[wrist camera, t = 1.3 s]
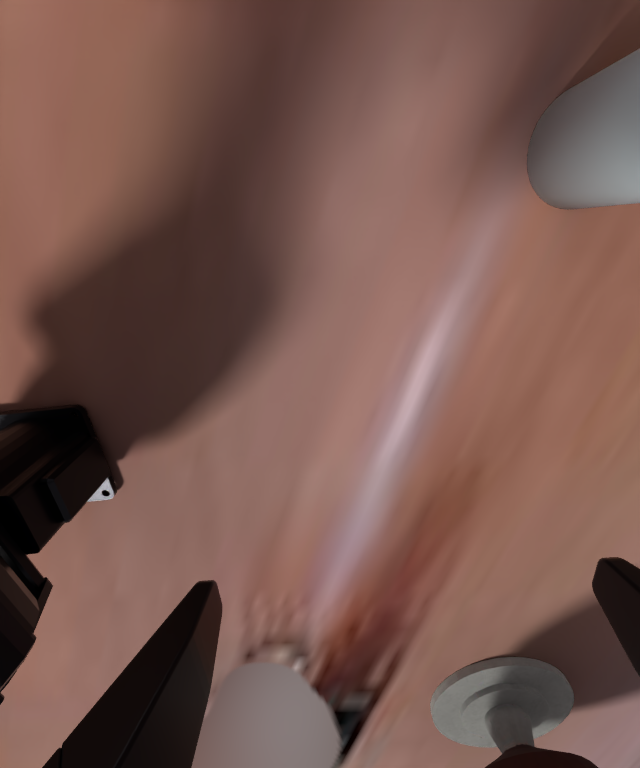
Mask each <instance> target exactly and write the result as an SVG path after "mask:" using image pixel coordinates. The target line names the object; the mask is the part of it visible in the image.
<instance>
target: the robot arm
mask: <svg viewBox="0 0 640 768" xmlns="http://www.w3.org/2000/svg"><path fill="white" fill-rule="evenodd" d="M74 412H76V413H77V414H78V416H76V415H75V414H74ZM106 490H107V491H109V492H107V491H106ZM116 493H117V488H116V485H115V483H114V480H113V478H112V475H111V472H110V469H109V467H108V464H107V462H106V459H105V457H104V454H103V451H102V449H101V446H100V444H99V441H98V440H97V437H96V435H95V432H94V430H93V427H92V424H91V422H90V419H89V417H88V414H87V412H86V410H85V409H84V408H83V407H82V406H80V405H67V406H57V407H48V408H38V409H28V410H19V411H9V412H0V692H1V691H2V690H3V689H4V688H5V686H6V685H7V684H8V683H9V681H10V680H11V678H12V677H13V676H14V674H15V673H16V671H17V669H18V668H19V667H20V665H21V664H22V663H23V662H24V660H25V658H26V657H27V655H28V653H29V652H30V650H31V648H32V647H33V645H34V643H35V640H36V636H35V635H34V634H33V633H34V630H35V628H36V626H37V623H38V621H39V618H40V616H41V613H42V611H43V609H44V606H45V604H46V601H47V599H48V597H49V594H50V592H51V589H52V587H53V585H52V584H51V582H50V581H49V580H48V578H47V577H45V578H44V577H43V576H42V575H41V573H40V572H39V571H38V570H37V568H36V567H35V566H34V564H33V563H32V562H31V561H30V559H29V558H28V557H27V555H28V554H35V553H39V552H40V550H41V549H42V548H43V547H44V546H45V545H46V544H47V542H48V541H49V540H50V539H51V538H52V537H53V536H54V535H55V533H56V532H57V531H58V530H59V529H60V528H61V527H62V525H63V524H64V523H67V522H70V521H71V520H72V519H73V518H74V516H75V515H76V514H77V513H78V512H79V511H80V509H81V508H82V507H83V506H84V505H85V504H86V502H89V501H99V500H109V499H112V498H113V497H114V495H115V494H116ZM592 587H593V591H594V594H595V596H596V598H597V600H598V601H599V603H600V605H601V607H602V609H603V611H604V613H605V615H606V616H607V618H608V620H609V622H610V624H611V626H612V628H613V630H614V631H615V633H616V635H617V637H618V639H619V641H620V643H621V645H622V647H623V648H624V650H625V652H626V654H627V656H628V658H629V659H630V661H631V663H632V665H633V666H634V668H635V670H636V671H637V673H638V675H639V676H640V569H639V568H638V567H636V566H634V565H633V564H631V563H629V562H628V561H626V560H624V559H622V558H618V557H610V558H601V559H600V560H599V561H598V564H597V567H596V571H595V574H594V578H593V581H592ZM221 617H222V602H221V598H220V594H219V590H218V586H217V583H216V582H215V581H214V580H208V581H199V582H197V583H196V584H195V585H194V586H193V588H192V589H191V590H190V591H189V592H188V594H187V595H186V596H185V597H184V598H183V600H182V601H181V602H180V603H179V604H178V606H177V607H176V608H175V609H174V610H173V612H172V613H171V614H170V615H169V616H168V618H167V619H166V620H165V621H164V622H163V624H162V625H161V626H160V627H159V628H158V630H157V631H156V632H155V633H154V634H153V636H152V637H151V638H150V639H149V640H148V642H147V643H146V644H145V645H144V646H143V648H142V649H141V650H140V651H139V652H138V654H137V655H136V656H135V657H134V658H133V660H132V661H131V662H130V663H129V664H128V666H127V667H126V668H125V669H124V670H123V672H122V673H121V674H120V675H119V676H118V678H117V679H116V680H115V681H114V682H113V684H112V685H111V686H110V687H109V688H108V690H107V691H106V692H105V693H104V694H103V696H102V697H101V698H100V699H99V700H98V702H97V703H96V704H95V705H94V706H93V708H92V709H91V710H90V711H89V712H88V714H87V715H86V716H85V717H84V718H83V720H82V721H81V722H80V723H79V724H78V726H77V727H76V728H75V729H74V730H73V732H72V733H71V734H70V735H69V736H68V738H67V739H66V740H65V741H64V742H63V744H62V748H58V749H57V751H56V752H55V753H54V754H53V755H52V757H51V758H50V759H49V760H48V761H47V763H46V764H45V765H44V766H43V767H42V768H191V766H192V762H193V758H194V754H195V750H196V746H197V742H198V738H199V734H200V730H201V726H202V722H203V718H204V714H205V710H206V706H207V702H208V697H209V693H210V688H211V683H212V677H213V670H214V663H215V657H216V650H217V644H218V637H219V631H220V624H221ZM3 700H4V696H3V695H2V694H1V693H0V704H1V703H2V702H3Z"/></svg>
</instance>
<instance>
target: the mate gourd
mask: <svg viewBox="0 0 640 768" xmlns="http://www.w3.org/2000/svg"><path fill="white" fill-rule="evenodd" d="M573 703H574V693H573V690H572V688H571V686H570V684H569V682H568V681H567V679H566V677H565V675H564V674H563V673H562V672H561V671H560V670H559V669H557V668H556V667H554V666H552V665H550V664H549V663H546V662H543V661H540V660H537V659H531V658H525V657H504V658H494V659H490V660H485V661H481V662H478V663H475V664H472V665H469V666H467V667H465V668H463V669H460V670H458V671H456V672H455V673H453V674H452V675H450V676H449V677H448V678H446V679H445V680H444V681H443V682H442V683H441V684H440V685H439V686H438V687H437V689H436V690H435V692H434V694H433V696H432V699H431V702H430V707H431V714H432V718H433V721H434V724H435V726H436V728H437V729H438V730H439V731H440V732H441V733H442V734H443V735H444V736H446V737H447V738H449V739H451V740H453V741H455V742H458V743H461V744H465V745H469V746H476V747H498V748H499V749H500V751H501V752H502V755H501V756H500V757H499V758H497V759H496V760H495V761H493V762H492V763H491V764H489V765H488V766H486V767H485V768H598V767H597V766H596V765H594V764H593V763H592V762H591V761H589V760H587V759H585V758H584V757H582V756H578V755H575V754H572V753H566V752H559V751H553V750H547V749H540V748H536V747H534V740H533V739H535V738H537V737H540V736H542V735H544V734H546V733H547V732H549V731H551V730H553V729H554V728H555V727H557V726H558V725H559V724H560V723H562V721H563V720H564V719H565V718H566V717H567V716H568V714H569V713H570V711H571V709H572V707H573Z"/></svg>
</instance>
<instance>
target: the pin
mask: <svg viewBox="0 0 640 768" xmlns="http://www.w3.org/2000/svg"><path fill="white" fill-rule="evenodd" d="M527 170H528V176H529V180H530V182H531V185H532V187H533V189H534V191H535V192H536V194H537V195H538V196H539V197H540V198H541V199H542V200H543V201H544V202H546V203H547V204H549V205H551V206H553V207H556V208H560V209H567V210H569V209H582V208H592V207H603V206H613V205H623V204H634V203H640V48H639V49H638V50H636V51H634V52H632V53H631V54H629V55H627V56H625V57H624V58H622V59H620V60H619V61H617V62H615V63H613V64H612V65H610V66H608V67H606V68H605V69H603V70H601V71H599V72H598V73H596V74H594V75H592V76H591V77H589V78H587V79H586V80H584V81H582V82H580V83H579V84H577V85H575V86H573V87H572V88H570V89H568V90H567V91H565V92H564V93H562V94H561V95H560V96H559V97H558V98H556V99H555V100H554V101H553V102H552V103H551V104H550V106H549V107H548V108H547V109H546V110H545V112H544V113H543V114H542V116H541V118H540V119H539V121H538V123H537V125H536V127H535V129H534V131H533V134H532V136H531V139H530V143H529V147H528V154H527Z"/></svg>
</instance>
